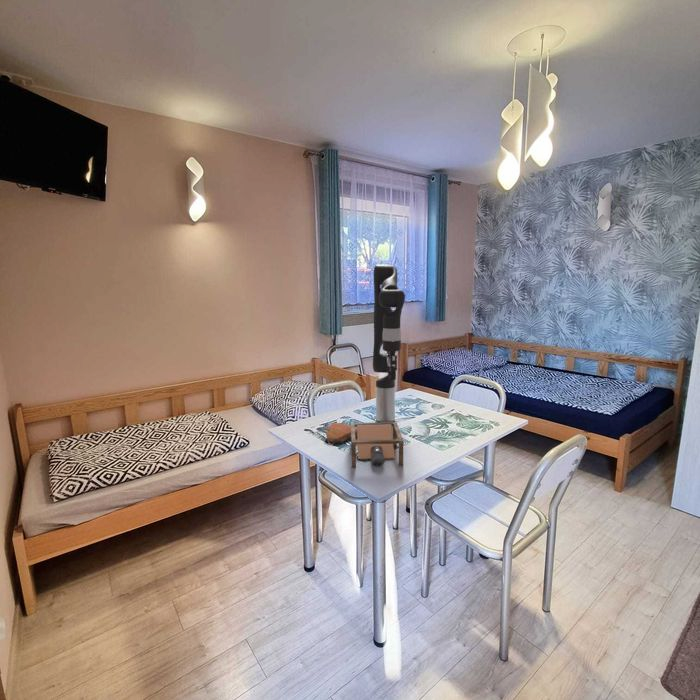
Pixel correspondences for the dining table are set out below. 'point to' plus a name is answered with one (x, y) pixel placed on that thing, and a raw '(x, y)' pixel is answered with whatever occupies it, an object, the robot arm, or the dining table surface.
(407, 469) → the dining table surface
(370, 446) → the trapdoor
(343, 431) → the reddish brown rock
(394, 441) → the trapdoor frame
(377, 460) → the cylinder
